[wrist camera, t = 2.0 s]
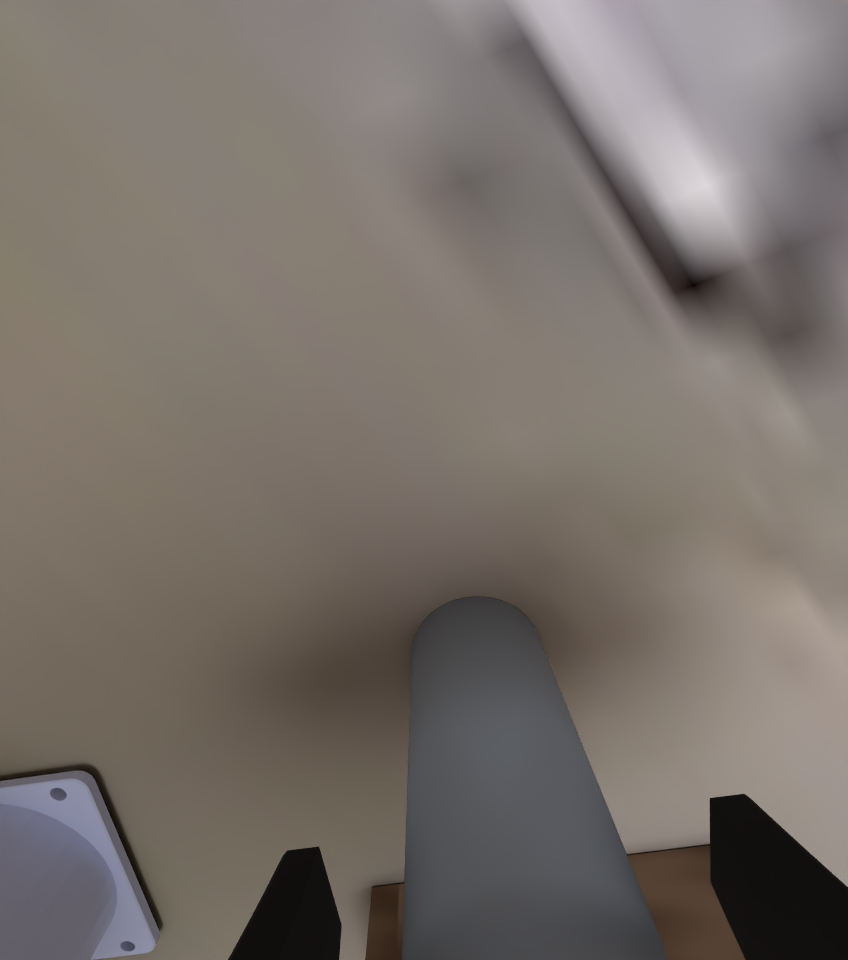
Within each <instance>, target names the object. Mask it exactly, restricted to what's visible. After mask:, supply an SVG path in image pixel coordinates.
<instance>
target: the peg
mask: <svg viewBox="0 0 848 960" xmlns="http://www.w3.org/2000/svg"><path fill="white" fill-rule="evenodd" d="M402 960H666V956H665V949H664V946H663V943H662V941H661V938H660V935H659V933H658V930H657V928H656V925H655V923H654V920H653V918H652V915H651V913H650V911H649V908H648V906H647V903H646V901H645V898H644V896H643V893H642V891H641V888H640V886H639V883H638V881H637V878H636V876H635V874H634V871H633V869H632V866H631V864H630V861H629V859H628V856H627V854H626V851H625V849H624V846H623V844H622V841H621V839H620V837H619V834H618V832H617V829H616V827H615V824H614V822H613V819H612V817H611V814H610V812H609V809H608V807H607V804H606V802H605V800H604V797H603V795H602V792H601V790H600V787H599V785H598V782H597V780H596V777H595V775H594V772H593V770H592V768H591V765H590V763H589V760H588V758H587V755H586V753H585V750H584V748H583V745H582V743H581V740H580V738H579V735H578V733H577V731H576V728H575V726H574V723H573V721H572V718H571V716H570V713H569V711H568V708H567V706H566V703H565V701H564V698H563V696H562V694H561V691H560V689H559V686H558V684H557V681H556V679H555V676H554V674H553V671H552V669H551V666H550V664H549V661H548V659H547V657H546V654H545V652H544V649H543V647H542V644H541V642H540V639H539V637H538V634H537V632H536V630H535V628H534V626H533V624H532V623H531V622H530V620H529V619H528V618H527V617H526V616H525V615H524V614H523V613H522V612H521V611H520V610H519V609H517V608H516V607H514V606H512V605H511V604H509V603H506V602H504V601H502V600H498V599H495V598H489V597H466V598H461V599H457V600H454V601H451V602H449V603H447V604H445V605H443V606H441V607H440V608H438V609H436V610H435V611H434V612H433V613H431V614H430V615H429V616H428V617H427V618H426V619H425V620H424V622H423V623H422V624H421V626H420V627H419V629H418V631H417V633H416V635H415V638H414V641H413V646H412V661H411V691H410V722H409V753H408V784H407V815H406V846H405V877H404V908H403V938H402Z"/></svg>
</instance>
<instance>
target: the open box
mask: <svg viewBox="0 0 848 960" xmlns="http://www.w3.org/2000/svg"><path fill="white" fill-rule="evenodd" d="M628 859H629V861H630V864H631V866H632V869H633V871H634V874H635V876H636V878H637V881H638V883H639V886H640V888H641V891H642V893H643V896H644V898H645V901H646V903H647V906H648V908H649V911H650V913H651V915H652V918H653V920H654V923H655V925H656V928H657V930H658V933H659V935H660V938H661V941H662V943H663V946H664V949H665V956H666V960H746V959H745V958H744V955H743V953H742V951H741V949H740V947H739V945H738V942H737V940H736V938H735V936H734V934H733V932H732V929H731V927H730V925H729V923H728V921H727V918H726V916H725V914H724V912H723V909H722V907H721V905H720V903H719V900H718V898H717V896H716V894H715V891H714V889H713V887H712V884H711V882H710V845H707V846H699V847H691V848H683V849H675V850H667V851H659V852H651V853H644V854H636V855H628ZM403 908H404V884H396V885H388V886H380V887H372V894H371V905H370V915H369V926H368V937H367V948H366V959H365V960H402V938H403Z"/></svg>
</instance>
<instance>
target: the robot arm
mask: <svg viewBox="0 0 848 960" xmlns="http://www.w3.org/2000/svg"><path fill="white" fill-rule="evenodd" d="M710 882H711V884H712V887H713V889H714V891H715V894H716V896H717V898H718V900H719V903H720V905H721V907H722V909H723V912H724V914H725V916H726V918H727V921H728V923H729V925H730V927H731V929H732V932H733V934H734V936H735V938H736V940H737V942H738V945H739V947H740V949H741V951H742V953H743V955H744V958H745V959H746V960H848V887H847V886H846V885H845V884H844V883H842V882H841V881H840V880H839V879H838V878H837V877H836V876H835V875H833V874H832V873H831V872H830V871H829V870H828V869H827V868H826V867H825V866H823V865H822V864H821V863H820V862H819V861H818V860H817V859H816V858H815V857H813V856H812V855H811V854H810V853H809V852H808V851H807V850H806V849H805V848H804V847H802V846H801V845H800V844H799V843H798V842H797V841H796V840H795V839H794V838H793V837H792V836H790V835H789V834H788V833H787V832H786V831H785V830H784V829H783V828H782V827H781V826H780V825H779V824H777V823H776V822H775V821H774V820H773V819H772V818H771V817H770V816H769V815H768V814H767V813H766V812H764V811H763V810H762V809H761V808H760V807H759V806H758V805H757V804H756V803H755V802H754V801H753V800H752V799H750V798H749V797H748V796H746V795H745V794H740V795H732V796H723V797H715V798H710ZM341 926H342V925H341V921H340V918H339V915H338V911H337V908H336V904H335V901H334V897H333V894H332V890H331V887H330V883H329V880H328V876H327V873H326V869H325V866H324V862H323V859H322V855H321V852H320V848H319V847H312V848H304V849H296V850H288V851H287V852H286V853H285V854H284V855H283V857H282V859H281V861H280V863H279V865H278V866H277V868H276V870H275V872H274V874H273V876H272V878H271V880H270V882H269V884H268V886H267V888H266V890H265V892H264V894H263V896H262V898H261V900H260V901H259V903H258V905H257V907H256V909H255V911H254V913H253V915H252V917H251V918H250V920H249V922H248V924H247V926H246V928H245V930H244V931H243V933H242V935H241V937H240V939H239V941H238V943H237V944H236V946H235V948H234V950H233V952H232V954H231V955H230V957H229V959H228V960H339V952H340V939H341ZM159 937H160V932H159V929H158V927H157V925H156V922H155V920H154V918H153V915H152V913H151V911H150V908H149V906H148V904H147V901H146V899H145V897H144V894H143V892H142V890H141V887H140V885H139V882H138V880H137V878H136V875H135V873H134V871H133V868H132V866H131V864H130V861H129V859H128V857H127V854H126V852H125V850H124V847H123V845H122V843H121V840H120V838H119V836H118V833H117V831H116V828H115V826H114V824H113V821H112V819H111V817H110V814H109V812H108V810H107V807H106V805H105V803H104V800H103V798H102V796H101V793H100V791H99V789H98V786H97V784H96V781H95V779H94V778H93V776H92V775H90V774H89V773H87V772H84V771H70V772H62V773H55V774H48V775H41V776H33V777H26V778H19V779H12V780H4V781H0V960H95V959H103V958H111V957H120V956H128V955H136V954H144V953H148V952H151V951H152V950H153V949H154V948H155V946H156V944H157V941H158V939H159Z"/></svg>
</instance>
